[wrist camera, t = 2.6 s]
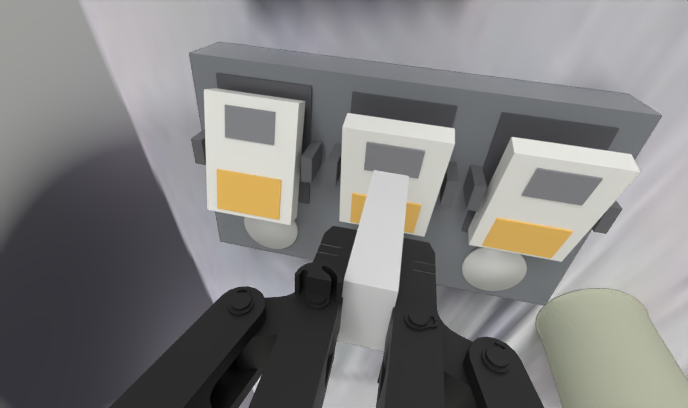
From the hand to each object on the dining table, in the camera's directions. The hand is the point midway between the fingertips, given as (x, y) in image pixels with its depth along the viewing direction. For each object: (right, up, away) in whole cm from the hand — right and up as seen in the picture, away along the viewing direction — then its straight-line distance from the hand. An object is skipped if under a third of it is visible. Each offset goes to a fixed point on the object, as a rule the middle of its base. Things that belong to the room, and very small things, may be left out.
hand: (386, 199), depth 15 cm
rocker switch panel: (+2, +3, +13) cm, 14 cm away
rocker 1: (-8, +3, +8) cm, 11 cm away
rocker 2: (+10, 0, +6) cm, 11 cm away
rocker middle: (+1, +1, +7) cm, 7 cm away
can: (+22, -11, +18) cm, 31 cm away
